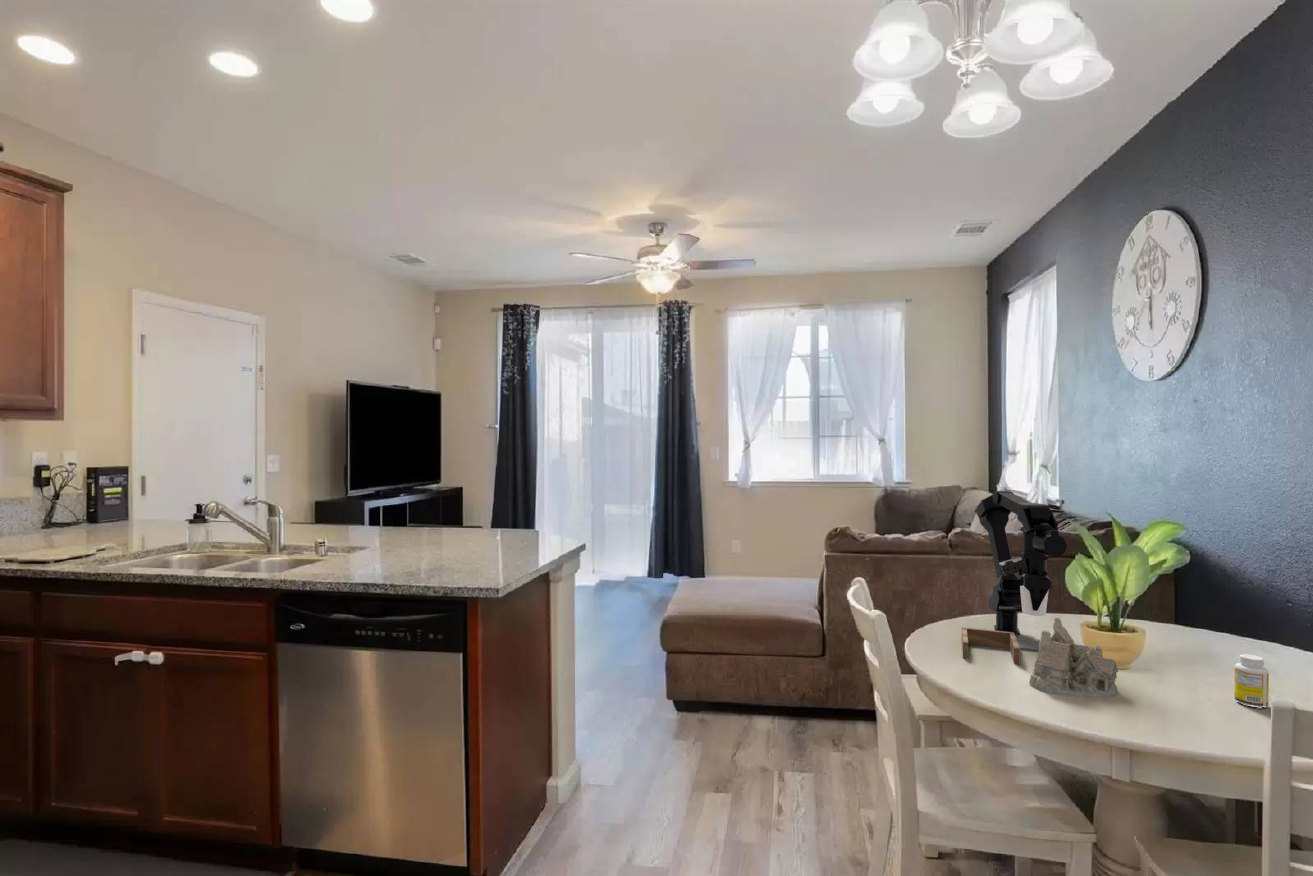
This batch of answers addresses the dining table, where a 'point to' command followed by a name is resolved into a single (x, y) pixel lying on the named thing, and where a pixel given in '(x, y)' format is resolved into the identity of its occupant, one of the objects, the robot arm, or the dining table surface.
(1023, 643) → the coaster
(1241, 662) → the supplement bottle
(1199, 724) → the dining table surface
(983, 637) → the brown wooden u-shaped piece
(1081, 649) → the ceramic cottage
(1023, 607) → the white cup
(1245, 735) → the dining table surface
